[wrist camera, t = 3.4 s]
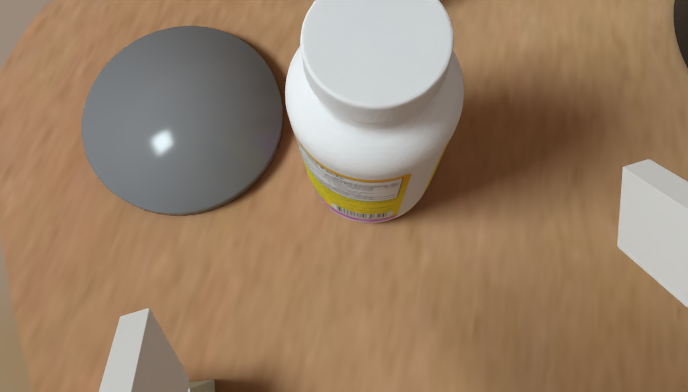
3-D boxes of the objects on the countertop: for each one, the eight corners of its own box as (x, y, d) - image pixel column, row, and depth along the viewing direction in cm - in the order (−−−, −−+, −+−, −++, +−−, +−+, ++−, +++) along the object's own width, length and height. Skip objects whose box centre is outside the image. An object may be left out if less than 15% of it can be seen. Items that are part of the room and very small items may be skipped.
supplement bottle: (384, 88, 29) (404, -93, 16) (455, 181, 27) (536, 59, 15) (284, 152, 28) (227, 12, 16) (352, 250, 27) (349, 183, 14)
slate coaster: (237, 5, 30) (234, -3, 30) (315, 162, 28) (314, 157, 27) (63, 80, 29) (55, 74, 29) (127, 250, 27) (120, 248, 26)
